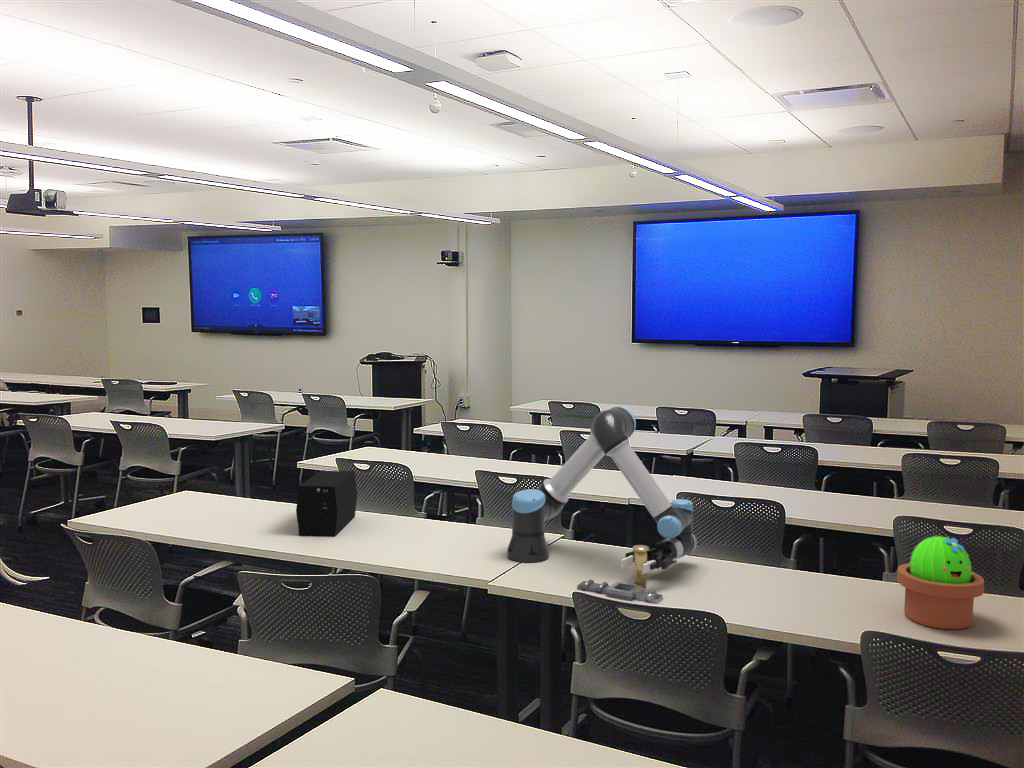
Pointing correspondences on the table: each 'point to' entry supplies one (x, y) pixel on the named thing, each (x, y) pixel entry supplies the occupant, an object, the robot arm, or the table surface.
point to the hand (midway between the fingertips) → (632, 566)
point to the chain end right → (634, 592)
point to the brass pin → (640, 564)
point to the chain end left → (602, 589)
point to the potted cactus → (940, 584)
